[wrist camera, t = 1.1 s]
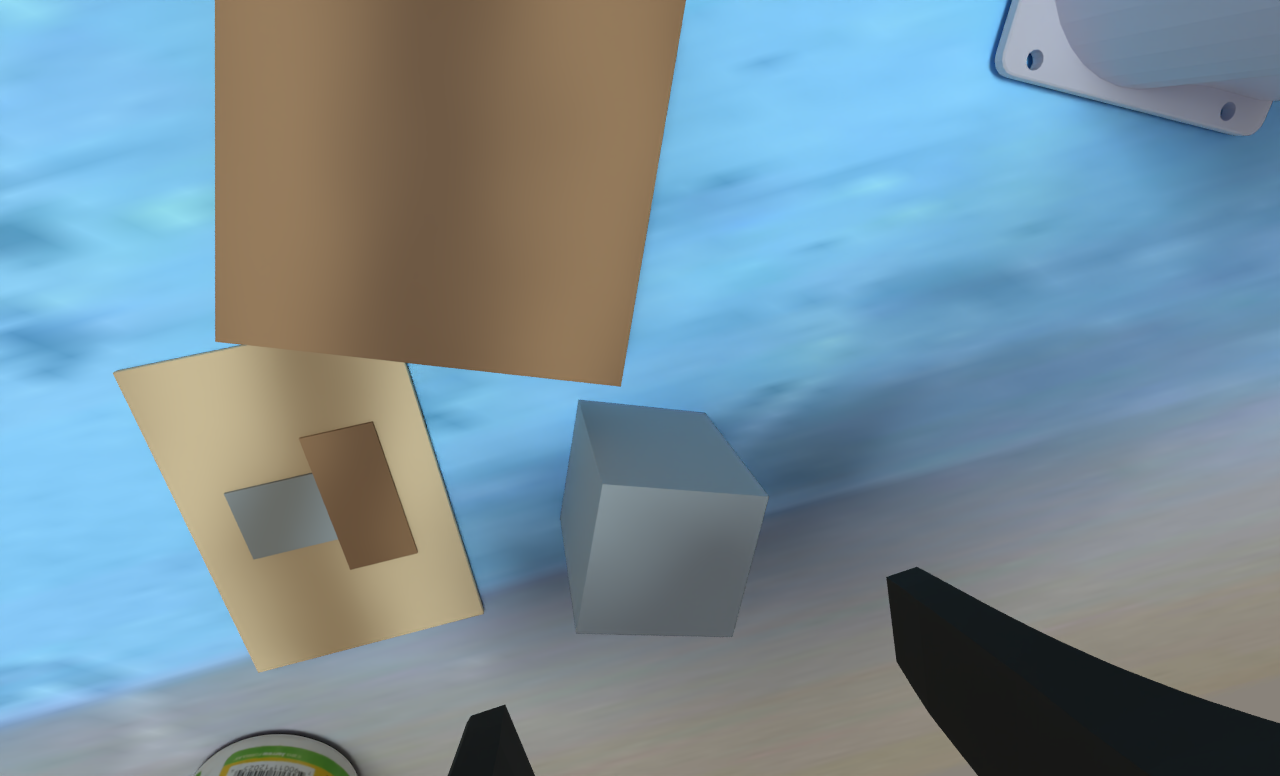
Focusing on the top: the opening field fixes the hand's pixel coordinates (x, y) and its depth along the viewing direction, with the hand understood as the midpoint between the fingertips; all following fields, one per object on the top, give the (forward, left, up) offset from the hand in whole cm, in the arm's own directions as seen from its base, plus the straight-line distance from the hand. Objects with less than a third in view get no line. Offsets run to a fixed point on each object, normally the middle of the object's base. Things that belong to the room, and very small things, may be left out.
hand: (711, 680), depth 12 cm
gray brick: (0, 0, -10) cm, 10 cm away
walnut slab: (+6, -8, -9) cm, 13 cm away
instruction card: (+9, +2, -9) cm, 13 cm away
